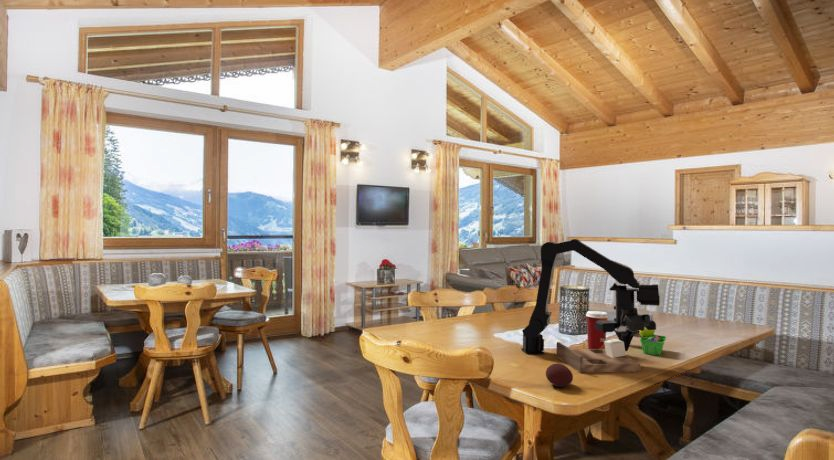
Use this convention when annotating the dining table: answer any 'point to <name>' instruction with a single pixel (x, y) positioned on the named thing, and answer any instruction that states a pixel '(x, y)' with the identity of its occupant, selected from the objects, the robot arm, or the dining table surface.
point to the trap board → (595, 360)
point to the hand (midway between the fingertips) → (625, 351)
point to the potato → (559, 375)
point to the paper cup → (595, 330)
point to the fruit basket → (651, 342)
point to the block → (614, 348)
